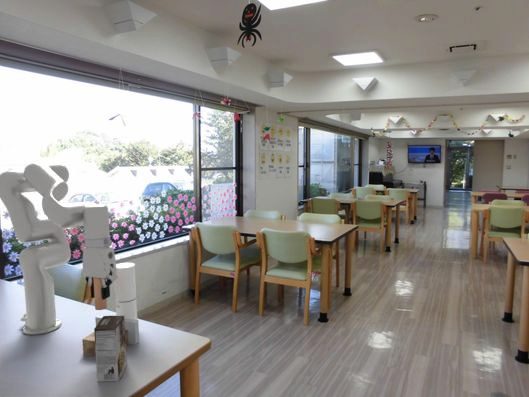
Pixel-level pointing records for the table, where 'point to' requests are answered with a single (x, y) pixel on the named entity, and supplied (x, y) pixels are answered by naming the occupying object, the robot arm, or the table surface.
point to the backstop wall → (130, 326)
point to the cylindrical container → (126, 291)
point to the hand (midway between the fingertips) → (100, 296)
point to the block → (90, 343)
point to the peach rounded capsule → (99, 295)
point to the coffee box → (110, 348)
